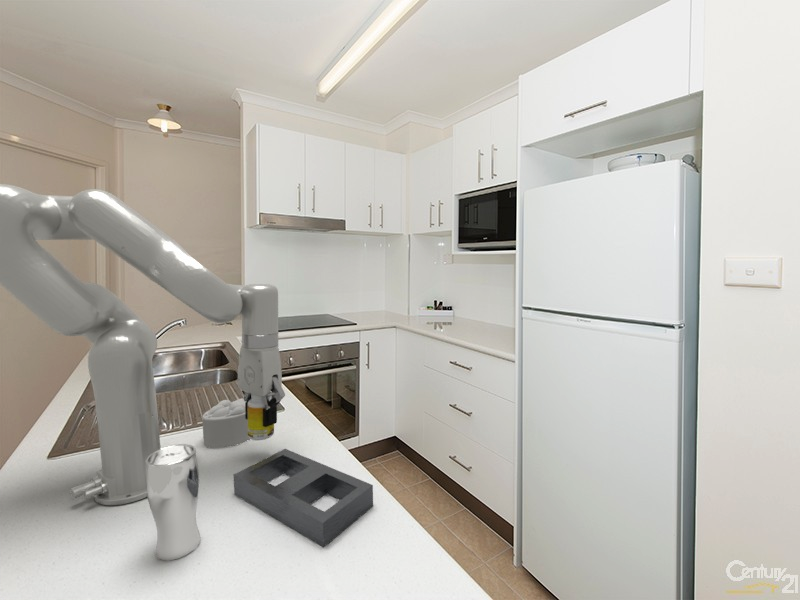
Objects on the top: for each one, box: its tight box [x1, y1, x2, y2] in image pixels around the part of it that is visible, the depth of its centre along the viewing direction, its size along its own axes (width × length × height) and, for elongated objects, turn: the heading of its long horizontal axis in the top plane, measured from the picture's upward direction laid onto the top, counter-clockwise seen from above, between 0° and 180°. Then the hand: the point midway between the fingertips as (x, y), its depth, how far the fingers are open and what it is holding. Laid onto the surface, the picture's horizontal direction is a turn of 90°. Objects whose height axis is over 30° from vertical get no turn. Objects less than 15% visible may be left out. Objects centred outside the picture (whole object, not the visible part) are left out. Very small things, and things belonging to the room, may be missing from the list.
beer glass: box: [146, 443, 201, 562], centre depth 59 cm, size 7×7×15 cm
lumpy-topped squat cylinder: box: [201, 397, 251, 449], centre depth 97 cm, size 10×13×9 cm
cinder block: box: [233, 448, 374, 548], centre depth 71 cm, size 12×24×4 cm, turn 55°
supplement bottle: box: [248, 394, 275, 441], centre depth 86 cm, size 6×6×10 cm
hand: (261, 420), depth 86 cm, fingers closed on supplement bottle, 5 cm apart
